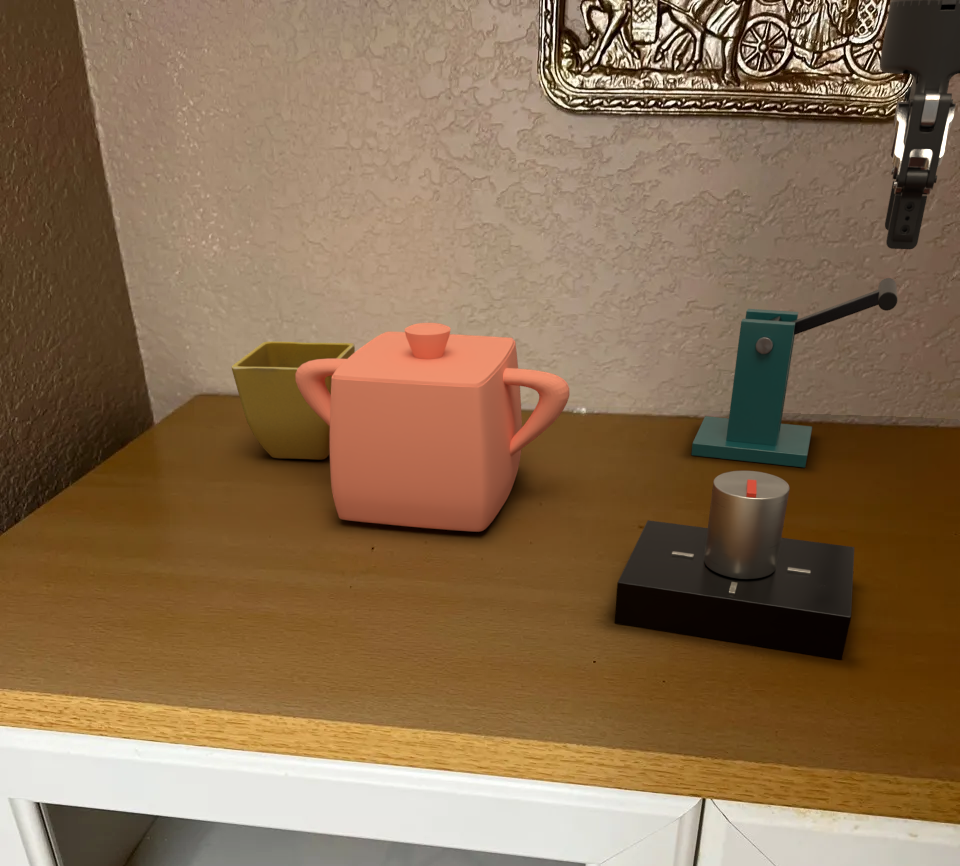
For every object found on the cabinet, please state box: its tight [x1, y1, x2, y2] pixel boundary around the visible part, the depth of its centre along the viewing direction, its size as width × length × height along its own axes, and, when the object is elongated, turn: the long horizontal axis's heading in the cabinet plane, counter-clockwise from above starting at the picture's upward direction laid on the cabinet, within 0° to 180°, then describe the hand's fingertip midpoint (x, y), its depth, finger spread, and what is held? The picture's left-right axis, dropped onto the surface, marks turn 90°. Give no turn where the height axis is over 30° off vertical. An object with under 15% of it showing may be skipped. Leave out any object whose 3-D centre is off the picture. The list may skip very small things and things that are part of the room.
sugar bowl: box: [295, 322, 570, 533], centre depth 80 cm, size 20×22×14 cm
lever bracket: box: [690, 308, 813, 468], centre depth 88 cm, size 10×8×12 cm
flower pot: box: [231, 341, 356, 461], centre depth 88 cm, size 9×9×9 cm
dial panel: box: [614, 519, 855, 660], centre depth 64 cm, size 14×10×3 cm
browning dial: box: [704, 470, 790, 579], centre depth 62 cm, size 5×5×6 cm
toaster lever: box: [769, 277, 898, 336], centre depth 83 cm, size 12×6×2 cm, turn 71°
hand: (899, 239), depth 78 cm, fingers open, 8 cm apart
